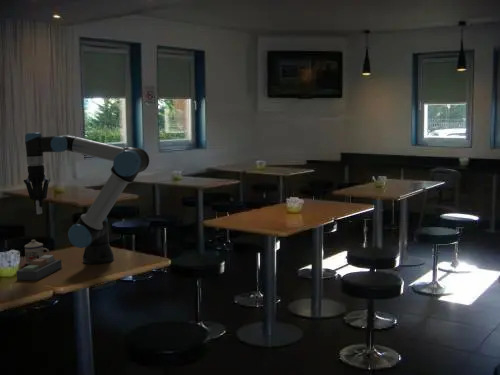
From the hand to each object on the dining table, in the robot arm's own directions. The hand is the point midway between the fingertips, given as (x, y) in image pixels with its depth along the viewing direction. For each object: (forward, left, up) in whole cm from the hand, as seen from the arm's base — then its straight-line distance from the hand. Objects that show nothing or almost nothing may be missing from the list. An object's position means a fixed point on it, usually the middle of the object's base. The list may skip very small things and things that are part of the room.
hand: (39, 213), depth 305 cm
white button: (-5, +5, -23) cm, 24 cm away
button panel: (-5, +12, -26) cm, 29 cm away
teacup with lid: (+8, -8, -27) cm, 29 cm away
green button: (-5, +19, -25) cm, 32 cm away
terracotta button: (-5, +12, -23) cm, 27 cm away
